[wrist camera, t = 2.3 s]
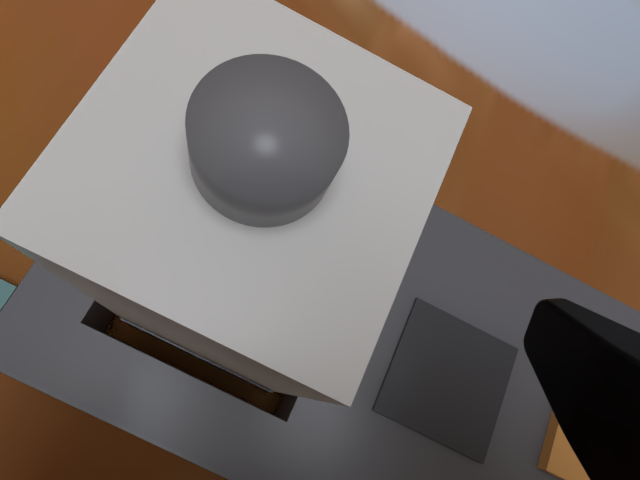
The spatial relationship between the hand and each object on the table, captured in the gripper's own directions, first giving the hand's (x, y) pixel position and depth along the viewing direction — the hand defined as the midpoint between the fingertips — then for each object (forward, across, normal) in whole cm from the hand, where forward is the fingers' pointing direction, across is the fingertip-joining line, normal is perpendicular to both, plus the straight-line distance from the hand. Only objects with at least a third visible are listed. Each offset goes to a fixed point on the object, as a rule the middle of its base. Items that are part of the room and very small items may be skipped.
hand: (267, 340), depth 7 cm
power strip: (+7, -3, +7) cm, 10 cm away
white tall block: (+9, 0, +5) cm, 10 cm away
